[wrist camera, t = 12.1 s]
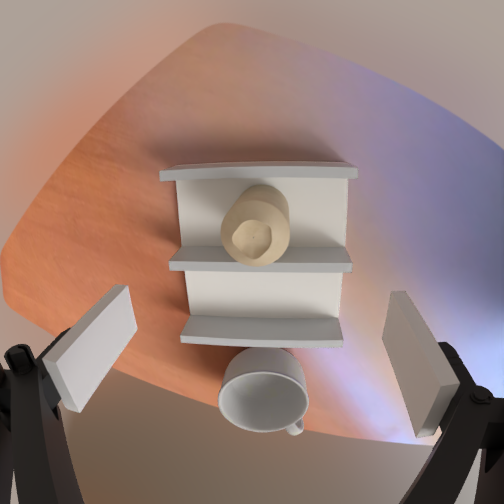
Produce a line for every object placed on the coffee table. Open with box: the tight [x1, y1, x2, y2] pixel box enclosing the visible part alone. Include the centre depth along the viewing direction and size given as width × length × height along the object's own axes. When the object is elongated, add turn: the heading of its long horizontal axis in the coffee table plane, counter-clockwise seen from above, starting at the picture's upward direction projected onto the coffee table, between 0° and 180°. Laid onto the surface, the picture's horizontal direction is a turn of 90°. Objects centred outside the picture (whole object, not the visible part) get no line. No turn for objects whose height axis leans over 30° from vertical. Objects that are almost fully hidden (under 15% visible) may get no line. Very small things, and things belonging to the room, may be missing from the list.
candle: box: [220, 185, 290, 267], centre depth 29 cm, size 6×6×10 cm
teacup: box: [218, 347, 309, 435], centre depth 39 cm, size 14×11×8 cm
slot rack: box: [159, 161, 358, 348], centre depth 33 cm, size 18×19×6 cm
